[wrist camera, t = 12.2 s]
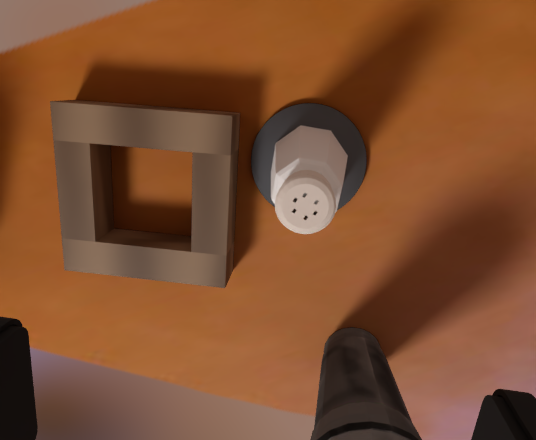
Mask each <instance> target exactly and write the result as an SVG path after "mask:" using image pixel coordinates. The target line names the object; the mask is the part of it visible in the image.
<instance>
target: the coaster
mask: <svg viewBox="0 0 536 440" xmlns="http://www.w3.org/2000/svg"><path fill="white" fill-rule="evenodd" d="M300 125H302V126H307V127H313V128H319V129H325V130H330V131H332V133H333V134H334V136H335V137H336V139H337V140H338V142H339V143H340V145H341V146H342V148H343V149H344V151H345V152H346V154H347V155H348V158H347V164H346V170H345V176H344V182H343V186H342V190H341V195H340V199H339V204H338V209H340V208H341V207H343V206H344V205H345V204H346V203H347V202H349V201H350V200H351V198H352V197H353V196H354V195H355V194H356V192H357V191H358V189H359V187H360V185H361V183H362V181H363V178H364V175H365V170H366V161H367V160H366V150H365V145H364V142H363V139H362V137H361V135H360V133H359V131H358V130H357V128H356V127H355V125H354V124H353V123H352V122H351V121H350V120H349V119H348V118H347V117H346V116H345V115H343V114H342V113H341V112H339V111H337V110H336V109H333V108H331V107H329V106H325V105H322V104H315V103H305V104H298V105H294V106H290V107H288V108H286V109H283V110H282V111H280V112H278V113H277V114H275V115H274V116H273V117H271V118H270V119H269V120H268V121H267V122H266V123H265V125H264V126H263V127H262V129H261V130H260V132H259V133H258V135H257V137H256V140H255V142H254V145H253V149H252V156H251V167H252V173H253V177H254V180H255V183H256V185H257V187H258V189H259V191H260V192H261V194H262V195H263V196H264V198H265V199H266V200H267V201H268V202H269V203H270V204H272V205H273V206H274V207H275V204H274V203H273V201H272V199H271V168H272V162H273V156H274V150H275V144H276V142H278V141H279V140H281V139H282V138H283V137H285V136H286V135H288V134H289V133H290V132H292V131H293V130H295V129H296V128H297V127H299V126H300ZM338 209H337V210H338Z"/></svg>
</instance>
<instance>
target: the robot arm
mask: <svg viewBox="0 0 536 440" xmlns="http://www.w3.org/2000/svg"><path fill="white" fill-rule="evenodd" d="M36 435H37V419H36V409H35V398H34V387H33V377H32V367H31V357H30V346H29V336H28V331H27V329H26V328H24V327H22V324H21V322H20V321H19V320H17V319H13V318H6V317H0V440H35V439H36ZM471 440H536V398H535V397H534V396H533V395H532V394H529V393H525V392H518V391H511V390H504V389H497V390H496V391H495V392H494V393H493V395H492V396H491V395H487V396H485V398H484V400H483V402H482V406H481V409H480V412H479V416H478V419H477V422H476V426H475V429H474V432H473V436H472V439H471Z"/></svg>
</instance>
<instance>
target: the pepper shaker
mask: <svg viewBox="0 0 536 440" xmlns="http://www.w3.org/2000/svg"><path fill="white" fill-rule="evenodd" d="M347 158H348V155H347V154H346V152H345V151H344V149H343V148H342V146H341V145H340V143H339V142H338V140H337V139H336V137H335V136H334V134H333V133H332V131H330V130H325V129H319V128H313V127H307V126H302V125H300V126H299V127H297V128H296V129H295V130H293V131H292V132H290V133H289V134H288V135H286V136H285V137H283V138H282V139H281V140H279V141H278V142H276V144H275V150H274V156H273V162H272V168H271V199H272V201H273V203H274V204H275V211H276V214H277V216H278V218H279V220H280V221H281V223H282V224H283V225H284V226H285V227H287V228H288V229H289V230H291V231H294V232H296V233H301V234H312V233H315V232H318V231H320V230H322V229H323V228H325V227H326V226H327V225H328V224H329V223H330V222H331V220H332V218H333V217H334V215H335V212H336V211H337V209H338V204H339V199H340V195H341V190H342V186H343V182H344V176H345V170H346V164H347Z"/></svg>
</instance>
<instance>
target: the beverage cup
mask: <svg viewBox="0 0 536 440" xmlns="http://www.w3.org/2000/svg"><path fill="white" fill-rule="evenodd" d="M311 440H422V439H421V437H420V436H419V434H418V432H417V430H416V429H415V427H414V425H413V423H412V421H411V419H410V416H409V414H408V411H407V409H406V406H405V404H404V401H403V399H402V397H401V394H400V392H399V389H398V387H397V384H396V382H395V379H394V377H393V374H392V372H391V369H390V367H389V364H388V362H387V359H386V357H385V355H384V353H383V351H382V350H381V348H380V345H379V343H378V341H377V339H376V338H375V337H374V336H373V335H372V334H371V333H370V332H367V331H365V330H363V329H360V328H353V327H351V328H343V329H341V330H339V331H336V332H335V333H334V334H332V335H331V336H330V337H329V338H328V340H327V342H326V343H325V348H324V354H323V358H322V365H321V374H320V382H319V391H318V400H317V409H316V417H315V426H314V430H313V432H312V436H311Z"/></svg>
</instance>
